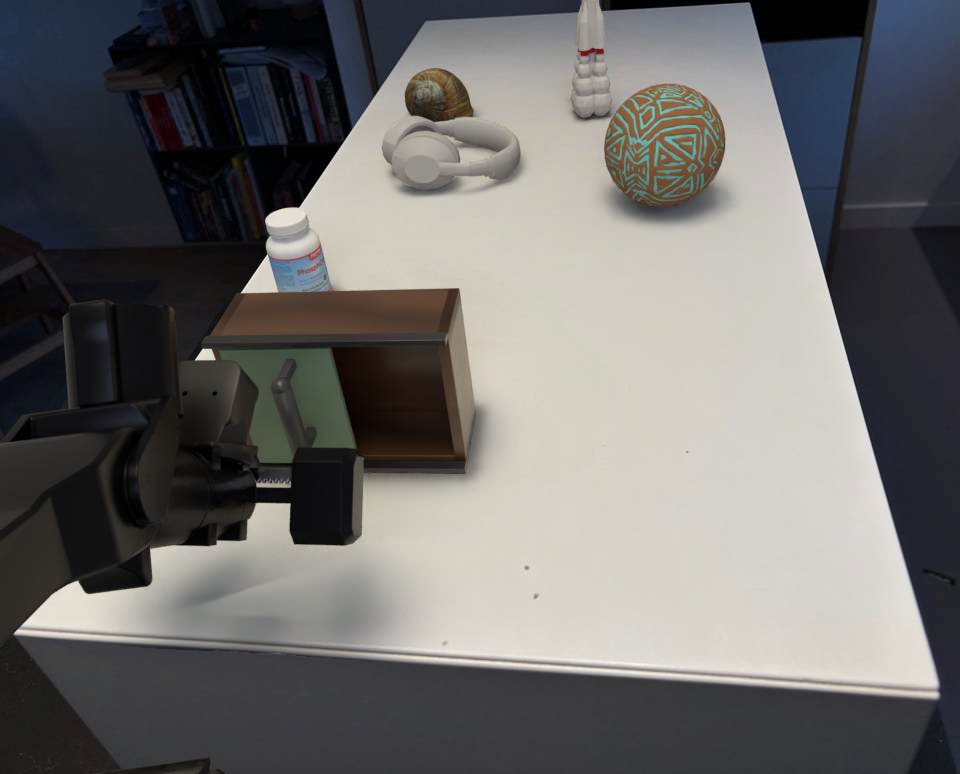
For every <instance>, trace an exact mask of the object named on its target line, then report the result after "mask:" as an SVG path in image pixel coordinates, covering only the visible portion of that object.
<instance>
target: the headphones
mask: <svg viewBox="0 0 960 774" xmlns="http://www.w3.org/2000/svg"><path fill="white" fill-rule="evenodd" d="M450 138H454V141H458V142H460V143H465V144H468V145H469V144H470V145H474V146H481V147H485V148H488V149H490V150H494V151H497V152H496V153H493V154H492V155H490V156H489V157H486V158H484V159H480V160H476V161H469V162H467V163H466V162H465V163H462V162H461V155H460V151H459V149H458V147H457V146H456V144H455V142H453V141H452V140H451V139H450ZM381 152H382V157H383V158H384V159H385V161H386V162H387V163H388V164H389V165H390V166H391V167H392V171H393V173H394V175H396V177H397V179H399V181H401V182H402V183H403V184H405V185H407V186H408V187H411V188H413V189H418V190H423V191H427V190H428V191H429V190H436V189H439V188H442V187H444V186H446V185H448V184H449V183H450V182H452V181H453V180H454V179H455V177H485V178H487V177H488V178H489V179H490V180H503V179H506V178H507V177H509V176H510V175H512V173H514V172H515V170H516V169H517V167H518V166H519V164H520V161H521V155H522V154H521V153H522V151H521V146H520V141H519V139H518V137H517V135H516V134H515V133H514V132H513V131H511V130H510V129H509V128H508V127H506V126H503V125H501V124H500V123H498V122H496V121H491V120H487V119H484V118H479V117H475V116H470V117H460V118H455V120H449V121H440V122H438V121H436V122H433V121H431V120H428V119H426V118H423V117H419V116H411V115H407V116H403V117H400V118H399V119H396V121H395V122H394V123H392V124H391V125H390V126H389V128H387V130H386V132H385V134H384V136H383V139H382V143H381Z"/></svg>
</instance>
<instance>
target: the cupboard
mask: <svg viewBox="0 0 960 774" xmlns="http://www.w3.org/2000/svg"><path fill="white" fill-rule="evenodd" d="M460 289H461V288H459V287H450V288H409V289H407V288H406V289H403V288H402V289H364V290H360V289H358V290H332V291H314V292H278V291H277V292H274V291H273V292H237V293H236V294H235V296H234V297H233V298H232V300H231V302H230V303H229V305H228V307H227V308H226V310H225V311H224V312H223V314H222V316H221V318H220V319H219V321H218V322H217V324H215V327H214V328H213V330H212V332H211V333H210V335H205V336H204V338H203V339H202V341H201V343H200V344H201V347H202V349H203V350H211V352H212V354H213V357H214V360H222V358H221V355H220V353H219V349H244V348H323V347H331V350H332V354H333V358H334V361H335V365H336V369H337V373H338V377H339V381H340V385H341V388H342V392H343V396H344V400H345V404H346V408H347V411H348V415H349V419H350V423H351V427H352V431H353V434H354V438H355V442H356V446H357V450H358V451H359V452H360V454H361V455H362V456H363V457H364V473H400V474H402V473H403V474H404V473H405V474H407V473H409V474H410V473H411V474H466V471H467V467H468V460H469V454H470V448H471V443H472V438H473V432H474V426H475V421H476V414H477V410H476V404H475V403H476V402H475V395H474V388H473V387H474V386H473V380H472V373H471V365H470V358H469V349H468V343H467V333H466V327H465V320H464V312H463V304H462V296H461V290H460ZM247 445H253V443H252V440H251V437H250V434H249V435H248V439H247ZM250 468H292V463H260V462H259V459H258V456H257V465H256V466H250Z"/></svg>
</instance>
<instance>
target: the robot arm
mask: <svg viewBox="0 0 960 774" xmlns="http://www.w3.org/2000/svg"><path fill="white" fill-rule="evenodd" d="M176 323H177V322H176V310H175V309H174V308H173V307H172V306H170V305H168V304H157V305H153V304H147V303H146V304H145V303H114V302H113V301H110V300H109V299H107V298H104V299H98V300H90V301H83V302H76V303H75V302H74V303H70V304H69V305H68V312H66V314H64V315H63V316H62V327H63V328H62V329H63V344H64V345H63V346H64V358H65V359H64V360H65V373H66V374H65V375H66V387H67V401H68V408H64V409H56V410H50V411H42V412H36V413H28V414H22V415H21V416H20V417H19V418H18V419H17V421H16V422H15V423H14V424H13V426H12V427H11V428H10V429H9V431H8V432H7V434H5V436H4V437H3V438H2V439H1V440H0V648H1V647H3V645H4V644H5V643H6V642H7V641H8V640H9V639H10V638H11V637H12V636H13V635H14V634H15V633H16V632H17V631H18V630H19V629H20V628H21V627H22V626H23V625H24V624H25V623H26V622H27V621H28V620H29V619H30V618H31V617H32V616H33V615H34V614H35V613H36V612H37V611H38V610H39V608H40V607H42V606H43V605H44V604H45V603H46V602H47V600H49V599H50V598H51V596H53V595H54V594H55V593H57V592H58V591H60V590H61V589H63V588H65V587H67V586H68V585H71V584H73V583H76V582H78V584H79V586H80V587H81V589H82V591H83V592H84V593H85V594H87V595H95V594H101V593H110V592H117V591H118V592H119V591H124V590H125V591H126V590H131V589H132V590H133V589H140V588H147V587H149V586H150V585H151V584H152V583H153V566H152V553H151V550H153V549H158V548H165V547H171V546H172V547H173V546H176V547H177V546H178V547H179V546H181V547H213V546H217V544H218V542H243V541H247V539H248V520H250V519H251V518H252V516H253V514H254V512H255V509H256V506H257V504H289V524H288V525H289V527H288V528H289V530H288V531H289V534H290V537H291V540H292V542H293V545H294V546H295V545H297V546H298V545H299V546H334V547H335V546H339V547H340V546H341V547H346V546H349V545H353V544H355V543H356V541H358V540H359V539H360V537H362V536H363V511H364V510H363V507H364V473H365V472H364V457H363V456H362V455H361V454H360V452H359V451H358V450H357V449H354V448H316V447H298V448H297V450H296V453H295V455H294V457H293V460H292V468H250V466H256V465H257V456H258V446H254V445H247V439H248V435H249V432H250V427H251V422H252V417H253V413H254V408H255V403H256V401H257V400H258V395H259V390H258V387H257V386H256V384H255V383H254V382H253V381H252V380H251V378H250V377H249V376H248V375H247V374H246V373H245V371H244V370H243V369H242V368H241V367H240V365H239V364H238V363H237V362H235V361H232V360H215V359H201V360H200V359H196V360H195V359H194V360H193V359H192V360H190V359H187V360H182V361H180V355H179V345H178V331H177V324H176ZM278 483H279V484H282V485H283V484H287V485H288V484H289V485H290V487H288V486H287V487H285V486H282V487H280V486H279V487H278V486H277V487H276V486H258V485H257V484H278ZM93 774H226V773H225V772H224V771H223V770H222V769H220V768H213V769H211V757H210V756H207V757H206V756H205V757H199V758H192V759H185V760H178V761H173V762H171V761H170V762H166V763H165V762H164V763H158V764H151V765H143V766H136V767H129V768H122V769H116V770H109V771H108V770H107V771H102V772H101V771H100V772H95V773H93Z"/></svg>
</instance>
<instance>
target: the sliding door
mask: <svg viewBox="0 0 960 774" xmlns="http://www.w3.org/2000/svg"><path fill="white" fill-rule="evenodd" d="M219 353H220V355H221V358H222V360H232V361H235V362H237V363H238V364H239V365H240V367H241V368H242V369H243V370H244V371H245V373H246V374H247V375H248V376H249V377H250V378H251V380H252V381H253V382H254V383H255V384H256V386H257V387H258V390H259V395H258V400H257V401H256V403H255V408H254V413H253V417H252V422H251V427H250V432H249V434H250V437H251V440H252V443H253V445H254V446H258V459H259V462H260V463H292V460H293V457H294V455H295V453H296V450H297V448H298V447H316V448H354V449H357V446H356V442H355V438H354V434H353V431H352V427H351V423H350V419H349V415H348V411H347V408H346V404H345V400H344V396H343V392H342V388H341V385H340V381H339V377H338V373H337V369H336V365H335V361H334V358H333V354H332V350H331V347H323V348H244V349H219Z"/></svg>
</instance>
